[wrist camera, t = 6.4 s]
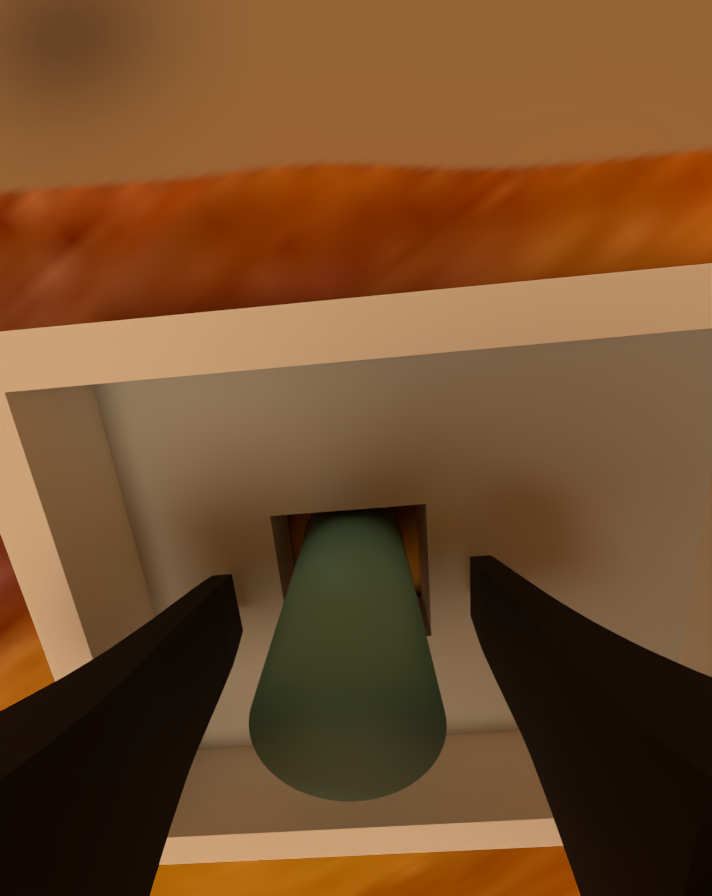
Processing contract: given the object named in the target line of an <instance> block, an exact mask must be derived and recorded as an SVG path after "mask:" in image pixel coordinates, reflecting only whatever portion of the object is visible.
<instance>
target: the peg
mask: <svg viewBox="0 0 712 896" xmlns="http://www.w3.org/2000/svg"><path fill="white" fill-rule="evenodd" d="M446 731H447V722H446V714H445V710H444V706H443V702H442V698H441V693H440V689H439V685H438V681H437V677H436V673H435V669H434V665H433V661H432V657H431V653H430V648H429V644H428V640H427V636H426V632H425V628H424V624H423V620H422V616H421V612H420V608H419V603H418V599H417V595H416V591H415V587H414V583H413V579H412V575H411V571H410V567H409V563H408V558H407V554H406V550H405V546H404V542H403V538H402V534H401V530H400V526H399V523H398V521H397V519H396V517H395V515H394V514H393V513H392V512H391V510H390V509H389V508H388V507H382V508H369V509H356V510H343V511H330V512H317V513H314V514H313V516H312V517H311V519H310V521H309V524H308V526H307V530H306V533H305V536H304V539H303V542H302V546H301V549H300V552H299V555H298V558H297V561H296V565H295V568H294V571H293V574H292V577H291V581H290V584H289V587H288V590H287V593H286V597H285V600H284V603H283V606H282V609H281V613H280V616H279V619H278V622H277V625H276V628H275V632H274V635H273V638H272V641H271V644H270V648H269V651H268V654H267V657H266V660H265V664H264V667H263V670H262V673H261V676H260V680H259V683H258V686H257V689H256V692H255V695H254V699H253V702H252V705H251V709H250V714H249V733H250V738H251V741H252V745H253V747H254V749H255V751H256V754H257V755H258V757H259V758H260V760H261V761H262V763H263V764H264V765H265V766H266V767H267V769H268V770H269V771H270V772H271V773H272V774H274V775H275V776H276V777H277V778H278V779H280V780H281V781H282V782H284V783H285V784H287V785H289V786H290V787H292V788H294V789H296V790H298V791H300V792H303V793H305V794H308V795H311V796H314V797H318V798H322V799H327V800H333V801H351V802H355V801H366V800H372V799H377V798H381V797H384V796H388V795H391V794H393V793H396V792H398V791H401V790H402V789H404V788H406V787H408V786H410V785H411V784H413V783H414V782H416V781H417V780H419V779H420V778H421V777H422V776H423V775H424V774H425V773H426V772H428V770H429V769H430V768H431V767H432V766H433V764H434V763H435V762H436V760H437V758H438V757H439V755H440V753H441V751H442V748H443V746H444V742H445V738H446Z"/></svg>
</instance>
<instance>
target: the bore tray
mask: <svg viewBox="0 0 712 896" xmlns="http://www.w3.org/2000/svg"><path fill="white" fill-rule="evenodd" d="M407 505H417V520H418V541H419V561H420V581H421V597H417V599H418V603H419V608H420V612H421V616H422V620H423V624H424V628H425V632H426V636H427V640H428V644H429V648H430V653H431V657H432V661H433V665H434V669H435V673H436V677H437V681H438V685H439V689H440V693H441V698H442V702H443V706H444V710H445V714H446V722H447V731H446V738H445V742H444V746H443V748H442V751H441V753H440V755H439V757H438V758H437V760H436V762H435V763H434V764H433V766H432V767H431V768H430V769H429V770H428V772H426V773H425V774H424V775H423V776H422V777H421V778H420V779H419V780H417V781H416V782H414V783H413V784H411V785H410V786H408V787H406V788H404V789H402V790H401V791H398V792H396V793H393V794H391V795H388V796H384V797H381V798H377V799H372V800H366V801H355V802H351V801H333V800H327V799H322V798H318V797H314V796H311V795H308V794H305V793H303V792H300V791H298V790H296V789H294V788H292V787H290V786H289V785H287V784H285V783H284V782H282V781H281V780H280V779H278V778H277V777H276V776H275V775H274V774H272V773H271V772H270V771H269V770H268V769H267V767H266V766H265V765H264V764H263V763H262V761H261V760H260V758H259V757H258V755H257V754H256V751H255V749H254V747H253V745H252V741H251V738H250V733H249V714H250V709H251V705H252V702H253V699H254V695H255V692H256V689H257V686H258V683H259V680H260V676H261V673H262V670H263V667H264V664H265V660H266V657H267V654H268V651H269V648H270V644H271V641H272V638H273V635H274V632H275V628H276V625H277V622H278V619H279V616H280V613H281V609H282V606H283V603H284V600H285V597H286V593H287V590H288V587H289V584H290V581H291V577H292V574H293V571H294V568H295V565H294V558H293V552H292V545H291V538H290V531H289V524H288V518H287V515H292V514H304V513H317V512H330V511H343V510H356V509H369V508H382V507H394V506H407ZM0 534H1V536H2V539H3V542H4V544H5V547H6V550H7V553H8V555H9V558H10V561H11V563H12V566H13V569H14V571H15V574H16V577H17V580H18V582H19V585H20V588H21V590H22V593H23V596H24V599H25V601H26V604H27V607H28V609H29V612H30V615H31V617H32V620H33V623H34V626H35V628H36V631H37V634H38V636H39V639H40V642H41V644H42V647H43V650H44V653H45V655H46V658H47V661H48V663H49V666H50V669H51V671H52V674H53V677H54V680H55V682H56V681H57V680H59V679H61V678H63V677H64V676H66V675H68V674H69V673H71V672H73V671H74V670H76V669H78V668H79V667H81V666H83V665H84V664H86V663H88V662H89V661H91V660H93V659H94V658H96V657H97V656H99V655H100V654H102V653H104V652H105V651H107V650H108V649H110V648H111V647H113V646H114V645H116V644H117V643H118V642H120V641H121V640H123V639H124V638H126V637H127V636H129V635H130V634H131V633H133V632H134V631H136V630H137V629H139V628H140V627H141V626H143V625H144V624H146V623H147V622H149V621H150V620H151V619H153V618H154V617H156V616H157V615H158V614H160V613H161V612H162V611H164V610H165V609H166V608H168V607H169V606H170V605H172V604H173V603H174V602H176V601H177V600H178V599H180V598H181V597H182V596H184V595H185V594H186V593H188V592H189V591H190V590H192V589H193V588H195V587H196V586H197V585H199V584H200V583H201V582H203V581H204V580H206V579H207V578H209V577H211V576H212V575H225V574H232V577H233V582H234V587H235V592H236V597H237V602H238V608H239V613H240V618H241V623H242V628H243V633H242V637H241V640H240V644H239V648H238V651H237V654H236V658H235V661H234V664H233V667H232V670H231V672H230V675H229V677H228V679H227V682H226V684H225V687H224V689H223V691H222V694H221V696H220V698H219V701H218V703H217V706H216V708H215V710H214V713H213V715H212V717H211V720H210V722H209V724H208V727H207V729H206V731H205V734H204V736H203V738H202V741H201V743H200V745H199V748H198V750H197V752H196V755H195V758H194V760H193V763H192V765H191V768H190V771H189V773H188V776H187V779H186V782H185V785H184V788H183V791H182V794H181V797H180V800H179V803H178V806H177V809H176V812H175V815H174V818H173V821H172V824H171V827H170V831H169V834H168V837H167V840H166V843H165V847H164V850H163V853H162V856H161V859H160V863H159V865H168V864H189V863H210V862H231V861H252V860H273V859H294V858H315V857H337V856H358V855H379V854H400V853H421V852H442V851H463V850H484V849H506V848H527V847H548V846H563V843H562V840H561V838H560V835H559V832H558V829H557V826H556V824H555V821H554V818H553V815H552V812H551V810H550V807H549V804H548V801H547V799H546V796H545V793H544V791H543V788H542V785H541V783H540V780H539V777H538V775H537V772H536V769H535V767H534V764H533V761H532V759H531V756H530V754H529V751H528V749H527V747H526V744H525V742H524V739H523V737H522V735H521V733H520V730H519V728H518V726H517V724H516V722H515V720H514V718H513V716H512V713H511V711H510V709H509V707H508V705H507V703H506V701H505V698H504V696H503V694H502V692H501V690H500V688H499V686H498V684H497V681H496V679H495V677H494V675H493V673H492V671H491V669H490V666H489V664H488V662H487V660H486V658H485V655H484V653H483V651H482V649H481V646H480V643H479V640H478V637H477V634H476V631H475V628H474V625H473V622H472V619H471V616H470V557H472V556H486V555H491V556H493V557H494V558H496V559H497V560H499V561H500V562H502V563H503V564H505V565H506V566H508V567H509V568H510V569H512V570H513V571H515V572H516V573H518V574H519V575H521V576H522V577H523V578H525V579H526V580H528V581H529V582H531V583H532V584H534V585H535V586H537V587H538V588H540V589H541V590H543V591H544V592H546V593H547V594H549V595H550V596H552V597H553V598H555V599H557V600H558V601H560V602H561V603H563V604H565V605H566V606H568V607H570V608H571V609H573V610H575V611H576V612H578V613H580V614H581V615H583V616H585V617H586V618H588V619H590V620H592V621H593V622H595V623H597V624H599V625H601V626H602V627H604V628H606V629H608V630H610V631H612V632H614V633H616V634H618V635H620V636H622V637H624V638H626V639H628V640H630V641H632V642H634V643H636V644H638V645H640V646H642V647H644V648H646V649H648V650H650V651H652V652H654V653H657V654H659V655H661V656H664V657H666V658H668V659H670V660H673V661H675V662H677V663H679V664H682V665H684V666H686V667H688V668H691V669H693V670H695V671H698V672H700V673H703V674H705V675H708V676H710V677H712V263H708V264H697V265H687V266H677V267H666V268H656V269H645V270H635V271H625V272H614V273H604V274H594V275H583V276H573V277H562V278H552V279H542V280H531V281H521V282H511V283H500V284H490V285H480V286H469V287H459V288H448V289H438V290H428V291H417V292H407V293H397V294H386V295H376V296H365V297H355V298H345V299H334V300H324V301H314V302H303V303H293V304H283V305H272V306H262V307H251V308H241V309H231V310H220V311H210V312H200V313H189V314H179V315H168V316H158V317H148V318H137V319H127V320H117V321H106V322H96V323H86V324H75V325H65V326H54V327H44V328H34V329H23V330H13V331H3V332H0Z"/></svg>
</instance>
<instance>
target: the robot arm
mask: <svg viewBox="0 0 712 896" xmlns="http://www.w3.org/2000/svg"><path fill="white" fill-rule="evenodd" d="M470 616H471V619H472V622H473V625H474V628H475V631H476V634H477V637H478V640H479V643H480V646H481V649H482V651H483V653H484V655H485V658H486V660H487V662H488V664H489V666H490V669H491V671H492V673H493V675H494V677H495V679H496V681H497V684H498V686H499V688H500V690H501V692H502V694H503V696H504V698H505V701H506V703H507V705H508V707H509V709H510V711H511V713H512V716H513V718H514V720H515V722H516V724H517V726H518V728H519V730H520V733H521V735H522V737H523V739H524V742H525V744H526V747H527V749H528V751H529V754H530V756H531V759H532V761H533V764H534V767H535V769H536V772H537V775H538V777H539V780H540V783H541V785H542V788H543V791H544V793H545V796H546V799H547V801H548V804H549V807H550V810H551V812H552V815H553V818H554V821H555V824H556V826H557V829H558V832H559V835H560V838H561V840H562V843H563V846H564V849H565V852H566V854H567V857H568V860H569V863H570V866H571V868H572V871H573V874H574V877H575V880H576V883H577V886H578V889H579V892H580V895H581V896H712V677H710V676H708V675H705V674H703V673H700V672H698V671H695V670H693V669H691V668H688V667H686V666H684V665H682V664H679V663H677V662H675V661H673V660H670V659H668V658H666V657H664V656H661V655H659V654H657V653H654V652H652V651H650V650H648V649H646V648H644V647H642V646H640V645H638V644H636V643H634V642H632V641H630V640H628V639H626V638H624V637H622V636H620V635H618V634H616V633H614V632H612V631H610V630H608V629H606V628H604V627H602V626H601V625H599V624H597V623H595V622H593V621H592V620H590V619H588V618H586V617H585V616H583V615H581V614H580V613H578V612H576V611H575V610H573V609H571V608H570V607H568V606H566V605H565V604H563V603H561V602H560V601H558V600H557V599H555V598H553V597H552V596H550V595H549V594H547V593H546V592H544V591H543V590H541V589H540V588H538V587H537V586H535V585H534V584H532V583H531V582H529V581H528V580H526V579H525V578H523V577H522V576H521V575H519V574H518V573H516V572H515V571H513V570H512V569H510V568H509V567H508V566H506V565H505V564H503V563H502V562H500V561H499V560H497V559H496V558H494V557H493V556H491V555H486V556H472V557H470ZM242 633H243V628H242V623H241V618H240V613H239V608H238V602H237V597H236V592H235V587H234V582H233V577H232V574H225V575H212V576H211V577H209V578H207V579H206V580H204V581H203V582H201V583H200V584H199V585H197V586H196V587H195V588H193V589H192V590H190V591H189V592H188V593H186V594H185V595H184V596H182V597H181V598H180V599H178V600H177V601H176V602H174V603H173V604H172V605H170V606H169V607H168V608H166V609H165V610H164V611H162V612H161V613H160V614H158V615H157V616H156V617H154V618H153V619H151V620H150V621H149V622H147V623H146V624H144V625H143V626H141V627H140V628H139V629H137V630H136V631H134V632H133V633H131V634H130V635H129V636H127V637H126V638H124V639H123V640H121V641H120V642H118V643H117V644H116V645H114V646H113V647H111V648H110V649H108V650H107V651H105V652H104V653H102V654H100V655H99V656H97V657H96V658H94V659H93V660H91V661H89V662H88V663H86V664H84V665H83V666H81V667H79V668H78V669H76V670H74V671H73V672H71V673H69V674H68V675H66V676H64V677H63V678H61V679H59V680H57V681H56V682H54V683H52V684H50V685H48V686H47V687H45V688H43V689H41V690H39V691H37V692H35V693H34V694H32V695H30V696H28V697H26V698H24V699H23V700H21V701H19V702H17V703H15V704H13V705H11V706H10V707H8V708H6V709H4V710H2V711H0V896H150V892H151V889H152V885H153V882H154V879H155V876H156V872H157V869H158V866H159V863H160V859H161V856H162V853H163V850H164V847H165V843H166V840H167V837H168V834H169V831H170V827H171V824H172V821H173V818H174V815H175V812H176V809H177V806H178V803H179V800H180V797H181V794H182V791H183V788H184V785H185V782H186V779H187V776H188V773H189V771H190V768H191V765H192V763H193V760H194V758H195V755H196V752H197V750H198V748H199V745H200V743H201V741H202V738H203V736H204V734H205V731H206V729H207V727H208V724H209V722H210V720H211V717H212V715H213V713H214V710H215V708H216V706H217V703H218V701H219V698H220V696H221V694H222V691H223V689H224V687H225V684H226V682H227V679H228V677H229V675H230V672H231V670H232V667H233V664H234V661H235V658H236V654H237V651H238V648H239V644H240V640H241V637H242Z"/></svg>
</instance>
